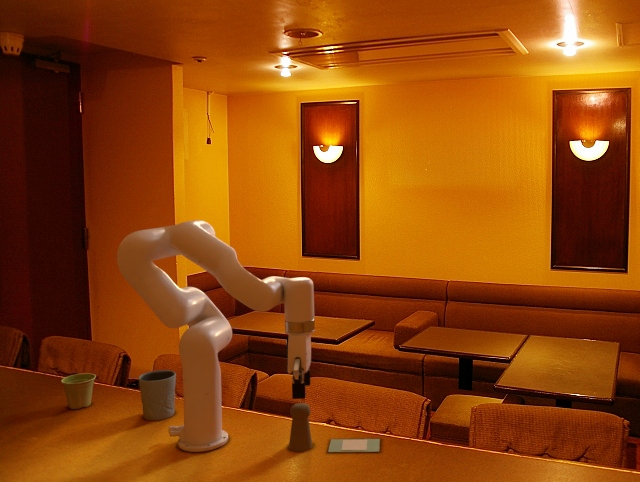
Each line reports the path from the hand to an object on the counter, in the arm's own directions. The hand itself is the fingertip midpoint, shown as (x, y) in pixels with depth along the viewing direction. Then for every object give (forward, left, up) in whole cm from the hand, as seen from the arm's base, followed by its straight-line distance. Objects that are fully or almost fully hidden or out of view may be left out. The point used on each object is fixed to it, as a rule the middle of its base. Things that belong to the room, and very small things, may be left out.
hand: (301, 391), depth 156 cm
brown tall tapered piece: (0, 0, -15) cm, 15 cm away
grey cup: (-45, +22, -15) cm, 53 cm away
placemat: (+14, 0, -15) cm, 20 cm away
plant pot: (-72, +30, -15) cm, 80 cm away
